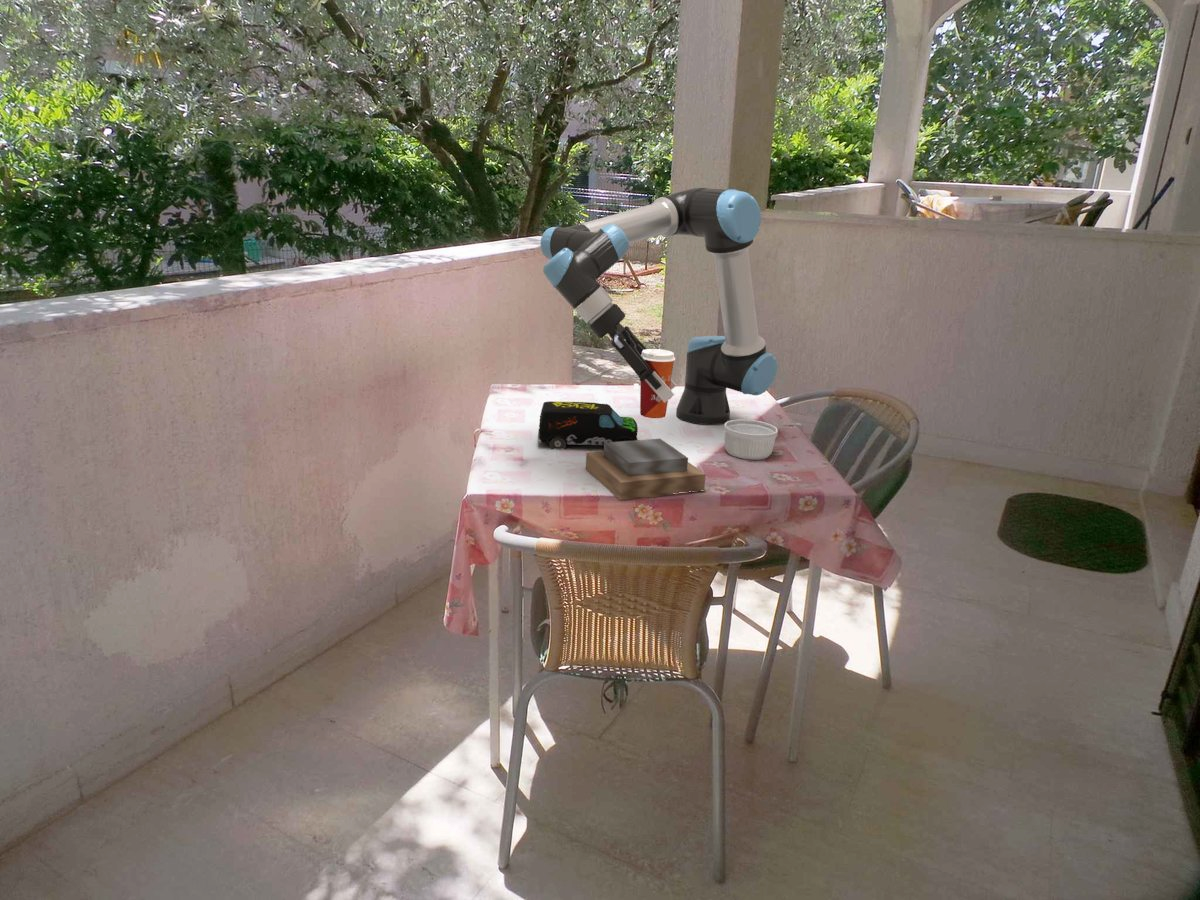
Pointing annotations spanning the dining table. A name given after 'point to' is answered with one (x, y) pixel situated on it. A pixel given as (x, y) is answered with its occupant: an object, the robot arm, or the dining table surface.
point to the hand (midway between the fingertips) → (670, 393)
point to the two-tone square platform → (643, 469)
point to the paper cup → (663, 367)
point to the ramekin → (749, 438)
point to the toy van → (583, 424)
